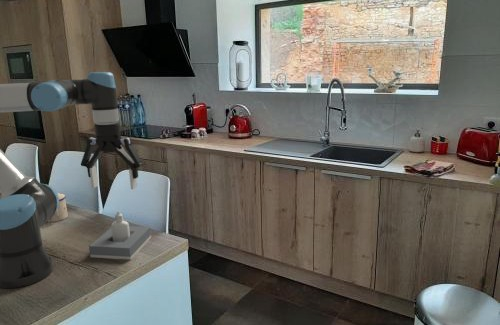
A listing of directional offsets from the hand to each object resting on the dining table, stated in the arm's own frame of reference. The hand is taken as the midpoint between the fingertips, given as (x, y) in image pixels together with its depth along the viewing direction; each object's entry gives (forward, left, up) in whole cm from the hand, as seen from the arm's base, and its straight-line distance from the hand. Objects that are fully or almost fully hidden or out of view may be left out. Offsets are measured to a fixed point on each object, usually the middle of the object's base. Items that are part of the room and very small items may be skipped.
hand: (114, 187), depth 125 cm
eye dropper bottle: (0, 0, -21) cm, 21 cm away
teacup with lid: (+20, +39, -22) cm, 49 cm away
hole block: (0, 0, -21) cm, 21 cm away
